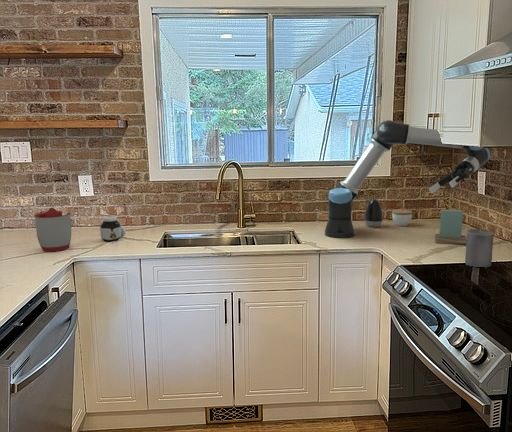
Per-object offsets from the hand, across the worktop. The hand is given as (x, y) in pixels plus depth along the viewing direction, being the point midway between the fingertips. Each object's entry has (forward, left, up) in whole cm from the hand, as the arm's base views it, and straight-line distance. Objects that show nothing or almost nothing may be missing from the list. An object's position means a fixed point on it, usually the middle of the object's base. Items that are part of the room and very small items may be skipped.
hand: (440, 188), depth 227 cm
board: (+4, +6, -26) cm, 27 cm away
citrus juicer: (-112, -144, -26) cm, 184 cm away
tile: (+1, +11, -19) cm, 21 cm away
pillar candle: (+32, -25, -26) cm, 48 cm away
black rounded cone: (-41, +5, -26) cm, 49 cm away
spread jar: (-112, -116, -26) cm, 163 cm away
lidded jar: (-32, +19, -26) cm, 45 cm away
